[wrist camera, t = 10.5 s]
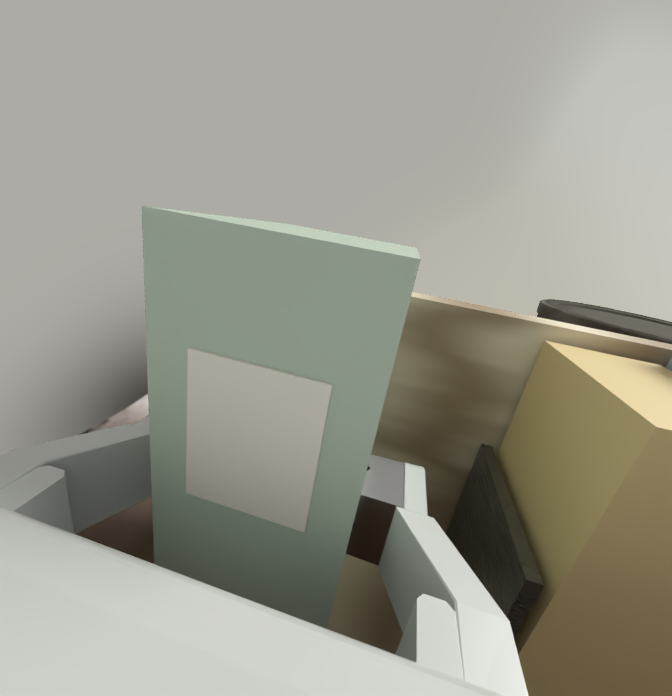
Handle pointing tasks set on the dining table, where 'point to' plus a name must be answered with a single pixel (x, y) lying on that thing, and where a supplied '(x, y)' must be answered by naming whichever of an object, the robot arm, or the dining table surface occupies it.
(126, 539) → the dining table surface
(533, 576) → the bookend
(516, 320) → the shelf
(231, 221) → the boxed book
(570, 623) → the shelved books
